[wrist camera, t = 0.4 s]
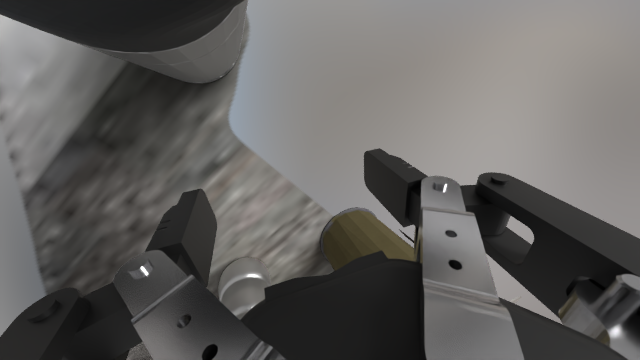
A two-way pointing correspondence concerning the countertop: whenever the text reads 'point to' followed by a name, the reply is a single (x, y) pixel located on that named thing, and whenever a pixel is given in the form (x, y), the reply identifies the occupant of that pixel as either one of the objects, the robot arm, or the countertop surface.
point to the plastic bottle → (243, 285)
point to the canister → (360, 238)
